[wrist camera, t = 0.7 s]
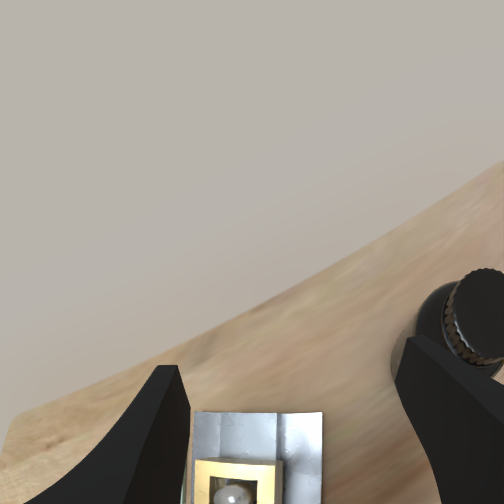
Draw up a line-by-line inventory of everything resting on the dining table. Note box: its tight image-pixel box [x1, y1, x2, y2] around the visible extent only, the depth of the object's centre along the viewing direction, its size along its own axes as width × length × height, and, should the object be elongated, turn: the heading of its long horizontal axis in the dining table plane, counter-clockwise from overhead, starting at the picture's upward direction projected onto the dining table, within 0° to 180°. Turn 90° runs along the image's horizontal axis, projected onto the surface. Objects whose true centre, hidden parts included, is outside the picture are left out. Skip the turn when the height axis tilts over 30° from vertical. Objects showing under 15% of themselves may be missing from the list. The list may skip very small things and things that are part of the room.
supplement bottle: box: [391, 268, 504, 380], centre depth 16 cm, size 7×7×12 cm
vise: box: [191, 411, 323, 504], centre depth 16 cm, size 12×10×7 cm
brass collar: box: [194, 457, 283, 504], centre depth 15 cm, size 5×5×3 cm
